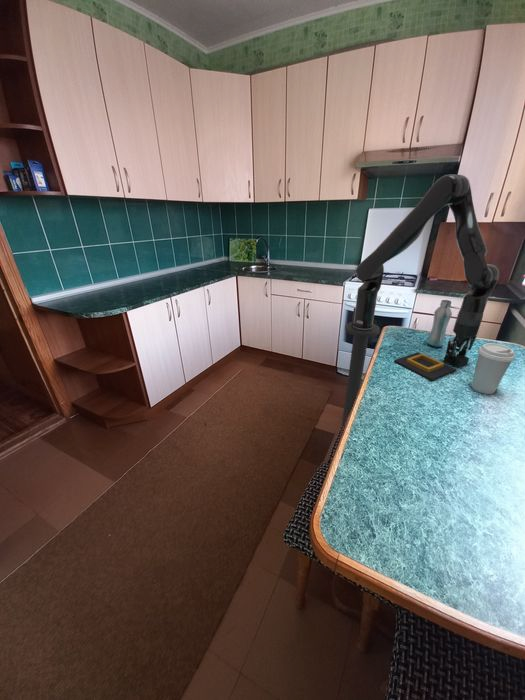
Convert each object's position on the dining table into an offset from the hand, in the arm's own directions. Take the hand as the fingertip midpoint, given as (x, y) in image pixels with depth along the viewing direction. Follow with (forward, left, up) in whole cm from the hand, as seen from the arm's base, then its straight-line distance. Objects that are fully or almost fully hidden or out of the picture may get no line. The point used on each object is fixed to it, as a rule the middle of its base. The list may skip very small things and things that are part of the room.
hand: (455, 361), depth 113 cm
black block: (0, 0, -1) cm, 1 cm away
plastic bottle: (-14, +8, -1) cm, 16 cm away
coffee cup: (+15, -9, -1) cm, 18 cm away
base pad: (-4, -13, 0) cm, 14 cm away
